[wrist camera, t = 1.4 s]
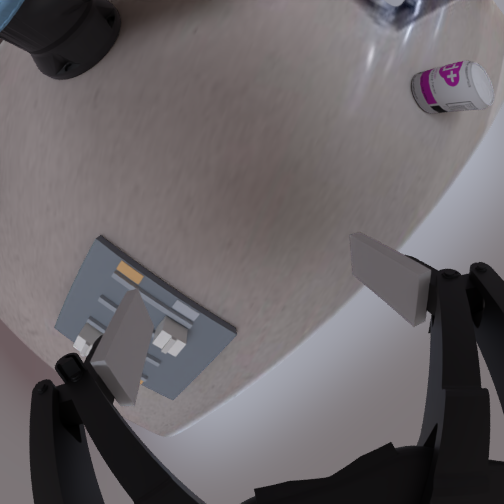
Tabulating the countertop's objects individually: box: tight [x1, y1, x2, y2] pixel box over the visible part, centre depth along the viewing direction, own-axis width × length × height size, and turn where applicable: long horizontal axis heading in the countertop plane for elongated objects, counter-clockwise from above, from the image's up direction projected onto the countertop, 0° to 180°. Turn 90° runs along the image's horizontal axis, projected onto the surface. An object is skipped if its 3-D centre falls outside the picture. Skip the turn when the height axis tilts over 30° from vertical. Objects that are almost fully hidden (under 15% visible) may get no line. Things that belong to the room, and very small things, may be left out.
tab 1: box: [73, 322, 103, 357], centre depth 36 cm, size 4×3×5 cm
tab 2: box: [152, 316, 188, 357], centre depth 37 cm, size 4×3×5 cm
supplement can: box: [412, 60, 494, 114], centre depth 29 cm, size 8×8×15 cm
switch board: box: [54, 235, 237, 400], centre depth 40 cm, size 26×20×3 cm
